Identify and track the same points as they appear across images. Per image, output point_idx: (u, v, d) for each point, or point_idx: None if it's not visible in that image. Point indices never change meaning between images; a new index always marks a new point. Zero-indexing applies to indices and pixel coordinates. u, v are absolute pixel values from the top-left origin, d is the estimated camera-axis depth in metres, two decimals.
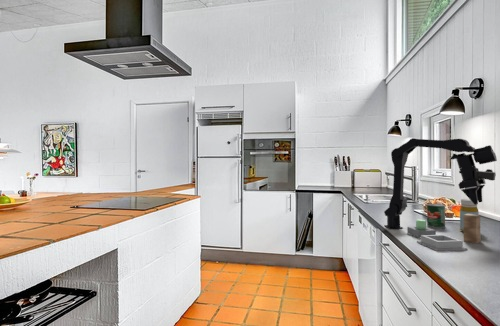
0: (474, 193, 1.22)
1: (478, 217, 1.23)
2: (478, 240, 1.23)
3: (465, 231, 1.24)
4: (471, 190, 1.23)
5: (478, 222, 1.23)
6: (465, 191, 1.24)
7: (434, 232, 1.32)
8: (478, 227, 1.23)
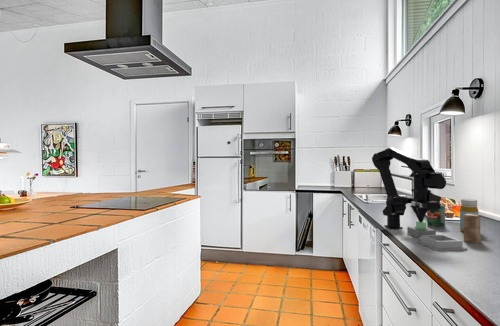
0: (424, 212, 1.34)
1: (478, 217, 1.23)
2: (478, 240, 1.23)
3: (465, 231, 1.24)
4: (422, 209, 1.34)
5: (478, 222, 1.23)
6: (419, 209, 1.33)
7: (434, 232, 1.32)
8: (478, 227, 1.23)
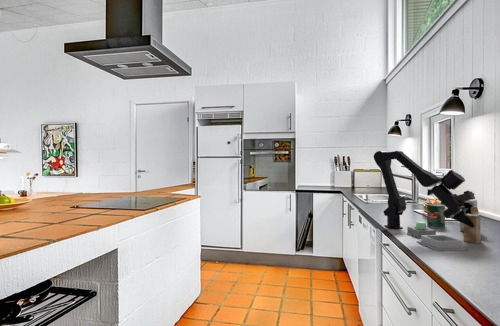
0: (464, 217, 1.23)
1: (478, 217, 1.23)
2: (478, 240, 1.23)
3: (465, 231, 1.24)
4: (460, 215, 1.25)
5: (478, 222, 1.23)
6: (456, 218, 1.25)
7: (434, 232, 1.32)
8: (478, 227, 1.23)
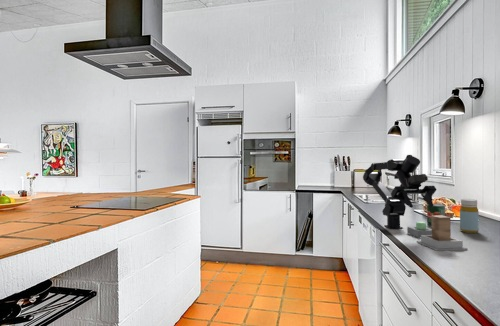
0: (405, 197, 1.32)
1: (445, 219, 1.16)
2: None
3: (432, 233, 1.20)
4: (403, 196, 1.33)
5: (445, 224, 1.16)
6: (400, 199, 1.35)
7: None
8: (445, 230, 1.16)
